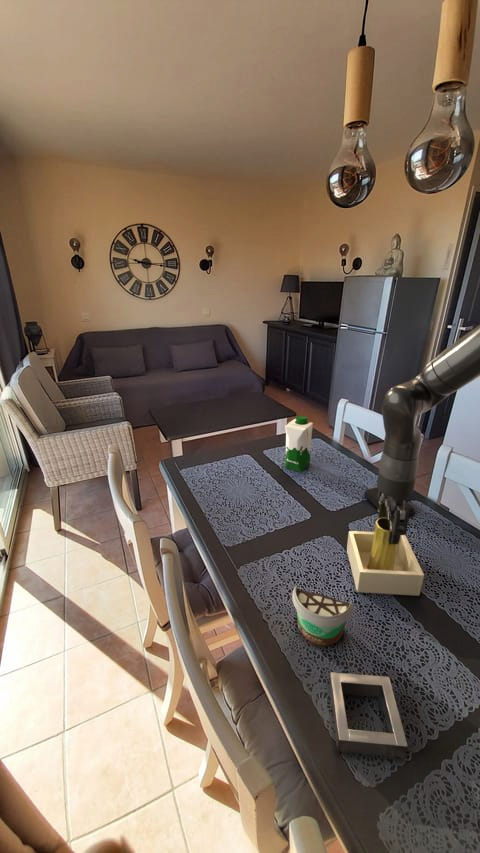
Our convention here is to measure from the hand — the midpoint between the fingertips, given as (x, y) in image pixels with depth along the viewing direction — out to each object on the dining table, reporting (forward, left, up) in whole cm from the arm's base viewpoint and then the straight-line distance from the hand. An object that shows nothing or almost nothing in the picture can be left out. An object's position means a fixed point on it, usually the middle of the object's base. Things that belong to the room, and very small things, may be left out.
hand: (387, 530), depth 85 cm
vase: (0, 0, -13) cm, 13 cm away
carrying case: (-9, -28, -14) cm, 32 cm away
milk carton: (+18, -51, -14) cm, 56 cm away
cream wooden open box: (0, 0, -13) cm, 13 cm away
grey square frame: (+11, +33, -13) cm, 37 cm away
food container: (+17, +19, -14) cm, 29 cm away
